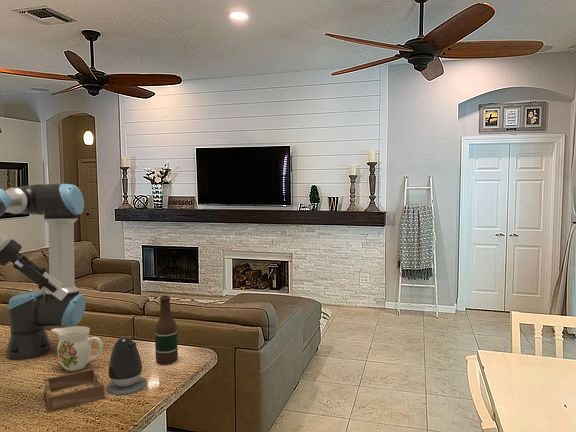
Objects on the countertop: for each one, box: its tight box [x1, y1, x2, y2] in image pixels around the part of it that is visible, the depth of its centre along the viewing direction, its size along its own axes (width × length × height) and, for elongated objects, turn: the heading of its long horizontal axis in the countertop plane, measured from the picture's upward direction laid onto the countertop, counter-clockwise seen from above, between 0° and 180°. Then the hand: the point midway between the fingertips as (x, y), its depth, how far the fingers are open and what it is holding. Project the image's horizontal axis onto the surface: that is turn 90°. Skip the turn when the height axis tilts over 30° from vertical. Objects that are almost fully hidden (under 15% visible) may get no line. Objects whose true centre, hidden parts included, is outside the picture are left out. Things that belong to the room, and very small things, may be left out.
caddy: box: [43, 367, 105, 412], centre depth 140 cm, size 15×15×4 cm
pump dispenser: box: [107, 336, 143, 387], centre depth 145 cm, size 10×10×15 cm
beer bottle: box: [154, 295, 179, 366], centre depth 165 cm, size 8×8×24 cm
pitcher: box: [50, 325, 104, 372], centre depth 161 cm, size 11×18×14 cm, turn 88°
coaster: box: [106, 376, 147, 396], centre depth 146 cm, size 12×12×1 cm
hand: (62, 292), depth 139 cm, fingers open, 13 cm apart
